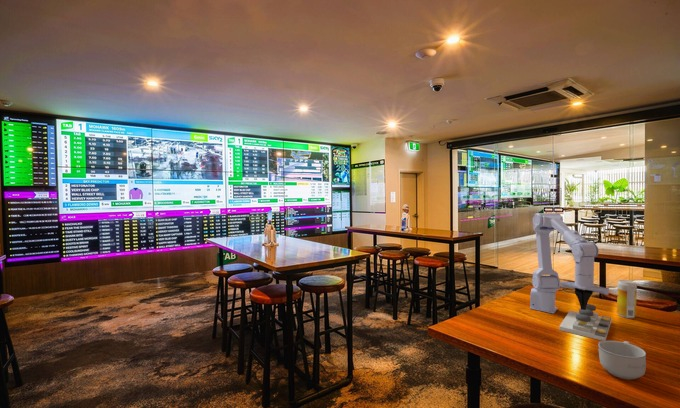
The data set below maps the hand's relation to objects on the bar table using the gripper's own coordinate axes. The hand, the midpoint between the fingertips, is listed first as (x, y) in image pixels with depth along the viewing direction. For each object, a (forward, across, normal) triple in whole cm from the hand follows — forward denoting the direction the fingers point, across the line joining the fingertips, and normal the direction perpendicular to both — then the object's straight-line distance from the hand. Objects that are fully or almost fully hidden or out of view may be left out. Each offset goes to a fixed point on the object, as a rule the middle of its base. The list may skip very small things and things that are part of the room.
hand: (583, 309), depth 124 cm
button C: (+5, 0, +15) cm, 16 cm away
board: (+9, 0, +8) cm, 12 cm away
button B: (+5, 0, +7) cm, 9 cm away
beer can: (+9, +11, +32) cm, 35 cm away
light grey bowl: (+10, +13, -24) cm, 29 cm away
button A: (+5, 0, 0) cm, 5 cm away
